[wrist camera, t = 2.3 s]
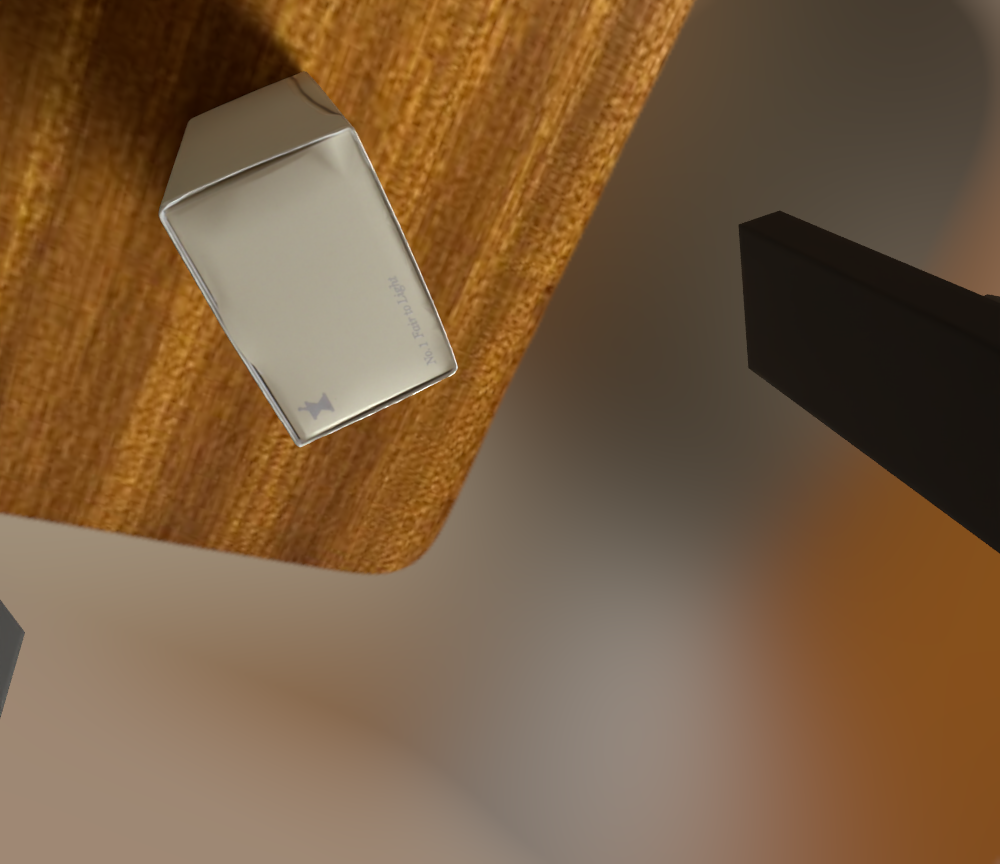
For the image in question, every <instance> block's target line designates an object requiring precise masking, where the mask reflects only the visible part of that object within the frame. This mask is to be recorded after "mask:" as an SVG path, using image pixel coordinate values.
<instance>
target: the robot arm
mask: <svg viewBox="0 0 1000 864" xmlns="http://www.w3.org/2000/svg"><path fill="white" fill-rule="evenodd" d="M739 237H740V252H741V265H742V266H741V267H742V280H743V295H744V310H745V324H746V339H747V352H748V367H749V369H751V370H752V371H753V372H755V373H756V374H757V375H759V376H760V377H761V378H763V379H764V380H766V381H767V382H768V383H770V384H771V385H772V386H774V387H775V388H777V389H778V390H779V391H780V392H782V393H783V394H785V395H786V396H787V397H789V398H790V399H791V400H793V401H794V402H796V403H797V404H798V405H799V406H801V407H802V408H803V409H805V410H806V411H808V412H809V413H810V414H812V415H813V416H814V417H816V418H817V419H818V420H820V421H821V422H822V423H824V424H825V425H826V426H828V427H829V428H831V429H832V430H833V431H835V432H836V433H837V434H839V435H840V436H841V437H843V438H844V439H845V440H847V441H848V442H850V443H851V444H852V445H854V446H855V447H856V448H858V449H859V450H860V451H862V452H863V453H865V454H866V455H867V456H869V457H870V458H871V459H873V460H874V461H876V462H877V463H878V464H879V465H881V466H882V467H883V468H885V469H887V471H889V472H890V473H891V474H893V475H894V476H896V477H897V478H898V479H900V480H901V481H902V482H904V483H905V484H907V485H908V486H909V487H910V488H912V489H913V490H915V491H916V492H917V493H919V494H920V495H921V496H923V497H924V498H925V499H927V500H928V501H930V502H931V503H932V504H934V505H935V506H936V507H938V508H939V509H940V510H942V511H943V512H944V513H946V514H947V515H948V516H950V517H951V518H952V519H954V520H955V521H957V522H958V523H959V524H961V525H962V526H963V527H965V528H966V529H967V530H969V531H970V532H972V533H973V534H974V535H976V536H977V537H978V538H980V539H981V540H982V541H984V542H985V543H986V544H988V545H989V546H990V547H992V548H993V549H994V550H996V551H997V552H999V553H1000V297H999V296H994V295H985V296H982V295H979V294H977V293H975V292H972V291H970V290H967V289H965V288H963V287H960V286H958V285H956V284H953V283H951V282H948V281H946V280H944V279H941V278H939V277H937V276H934V275H932V274H929V273H927V272H925V271H922V270H919V269H917V268H915V267H913V266H910V265H908V264H906V263H903V262H901V261H898V260H896V259H894V258H891V257H889V256H886V255H884V254H882V253H879V252H877V251H874V250H872V249H870V248H867V247H865V246H862V245H860V244H858V243H855V242H853V241H851V240H848V239H846V238H844V237H841V236H838V235H836V234H834V233H832V232H829V231H827V230H824V229H822V228H819V227H817V226H815V225H812V224H810V223H808V222H805V221H803V220H801V219H798V218H796V217H793V216H791V215H789V214H786V213H784V212H782V211H777V212H775V213H771V214H769V215H765V216H762V217H760V218H757V219H754V220H751V221H748V222H745V223H742V224H739ZM24 634H25V632H24V631H23V629H22V628H21V627H20V625H19V624H18V623H17V621H16V620H15V619H14V617H13V616H12V615H11V613H10V612H9V611H8V610H7V608H6V607H5V605H4V604H3V603H2V601H1V600H0V717H1V714H2V710H3V707H4V703H5V700H6V696H7V693H8V689H9V686H10V682H11V679H12V675H13V672H14V668H15V665H16V661H17V658H18V654H19V651H20V648H21V644H22V641H23V637H24Z"/></svg>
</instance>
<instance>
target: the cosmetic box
mask: <svg viewBox="0 0 1000 864" xmlns="http://www.w3.org/2000/svg"><path fill="white" fill-rule="evenodd" d="M159 217H160V220H161V222H162V224H163V226H164V227H165V229H166V231H167V233H168V234H169V236H170V238H171V240H172V241H173V243H174V245H175V247H176V249H177V250H178V252H179V254H180V256H181V257H182V259H183V261H184V263H185V264H186V266H187V268H188V270H189V271H190V273H191V275H192V276H193V278H194V280H195V281H196V283H197V285H198V287H199V288H200V290H201V292H202V294H203V295H204V297H205V299H206V301H207V302H208V304H209V306H210V307H211V309H212V311H213V313H214V314H215V316H216V318H217V319H218V321H219V323H220V325H221V326H222V328H223V330H224V331H225V333H226V335H227V336H228V338H229V340H230V341H231V343H232V344H233V346H234V348H235V349H236V351H237V352H238V354H239V355H240V357H241V359H242V360H243V362H244V363H245V365H246V367H247V368H248V370H249V372H250V373H251V375H252V377H253V378H254V380H255V381H256V383H257V384H258V386H259V387H260V389H261V391H262V392H263V394H264V395H265V397H266V399H267V400H268V402H269V403H270V405H271V406H272V408H273V409H274V411H275V413H276V414H277V416H278V417H279V419H280V421H281V422H282V423H283V425H284V426H285V428H286V430H287V431H288V433H289V434H290V436H291V438H292V440H293V441H294V443H295V444H296V445H297V446H299V447H302V446H304V445H306V444H308V443H310V442H312V441H314V440H316V439H318V438H321V437H323V436H326V435H328V434H330V433H332V432H334V431H337V430H339V429H341V428H343V427H345V426H347V425H350V424H352V423H354V422H356V421H359V420H361V419H363V418H365V417H367V416H369V415H371V414H373V413H375V412H377V411H380V410H382V409H384V408H386V407H388V406H390V405H392V404H394V403H397V402H400V401H401V400H403V399H405V398H407V397H409V396H411V395H413V394H415V393H417V392H419V391H421V390H423V389H425V388H427V387H429V386H431V385H433V384H435V383H437V382H439V381H441V380H443V379H445V378H447V377H449V376H451V375H452V374H454V373H455V372H456V370H457V368H458V366H457V363H456V360H455V357H454V354H453V351H452V348H451V346H450V343H449V340H448V338H447V335H446V332H445V330H444V327H443V325H442V322H441V320H440V318H439V315H438V313H437V310H436V308H435V305H434V303H433V300H432V298H431V296H430V293H429V291H428V288H427V286H426V284H425V281H424V279H423V277H422V274H421V272H420V270H419V268H418V265H417V263H416V261H415V259H414V256H413V254H412V252H411V249H410V247H409V245H408V242H407V240H406V238H405V236H404V233H403V231H402V229H401V227H400V225H399V222H398V220H397V218H396V216H395V214H394V211H393V209H392V207H391V205H390V203H389V201H388V198H387V196H386V194H385V192H384V190H383V188H382V185H381V183H380V181H379V179H378V177H377V175H376V172H375V170H374V168H373V166H372V164H371V162H370V160H369V158H368V156H367V154H366V152H365V149H364V147H363V145H362V143H361V141H360V139H359V137H358V135H357V133H356V131H355V129H354V127H352V126H351V124H350V123H349V122H348V120H347V119H346V118H345V117H344V116H343V115H342V113H341V112H340V111H339V110H338V108H337V107H336V106H335V105H334V104H333V102H332V101H331V100H330V99H329V97H328V96H327V95H326V94H325V92H324V91H323V90H322V89H321V87H320V86H319V85H318V84H317V83H316V82H315V81H314V79H313V78H312V77H311V76H310V75H309V74H308V73H307V72H301V73H299V74H296V75H294V76H291V77H289V78H286V79H283V80H281V81H278V82H276V83H273V84H271V85H268V86H266V87H263V88H261V89H258V90H256V91H254V92H251V93H249V94H247V95H244V96H242V97H240V98H237V99H235V100H232V101H230V102H228V103H225V104H223V105H221V106H218V107H216V108H214V109H212V110H209V111H207V112H205V113H203V114H201V115H198V116H196V117H194V118H192V119H191V120H190V121H189V122H188V124H187V127H186V130H185V133H184V136H183V139H182V142H181V145H180V149H179V151H178V155H177V157H176V160H175V164H174V166H173V170H172V173H171V176H170V179H169V182H168V185H167V188H166V190H165V194H164V197H163V200H162V202H161V205H160V209H159Z"/></svg>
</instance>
